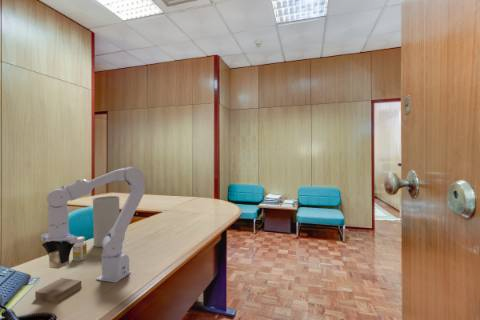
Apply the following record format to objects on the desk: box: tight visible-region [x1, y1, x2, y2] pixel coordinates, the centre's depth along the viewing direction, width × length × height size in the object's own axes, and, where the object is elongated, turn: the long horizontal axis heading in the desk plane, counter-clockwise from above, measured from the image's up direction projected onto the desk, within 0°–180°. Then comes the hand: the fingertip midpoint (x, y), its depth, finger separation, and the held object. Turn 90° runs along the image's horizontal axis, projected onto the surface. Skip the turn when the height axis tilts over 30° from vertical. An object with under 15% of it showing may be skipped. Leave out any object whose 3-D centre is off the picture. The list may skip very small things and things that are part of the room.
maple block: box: [48, 250, 70, 270], centre depth 82 cm, size 4×4×5 cm
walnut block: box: [34, 277, 83, 304], centre depth 81 cm, size 9×9×3 cm
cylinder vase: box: [92, 195, 121, 248], centre depth 128 cm, size 12×12×25 cm
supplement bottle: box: [72, 236, 88, 262], centre depth 109 cm, size 5×5×10 cm
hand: (59, 261), depth 82 cm, fingers closed on maple block, 4 cm apart
